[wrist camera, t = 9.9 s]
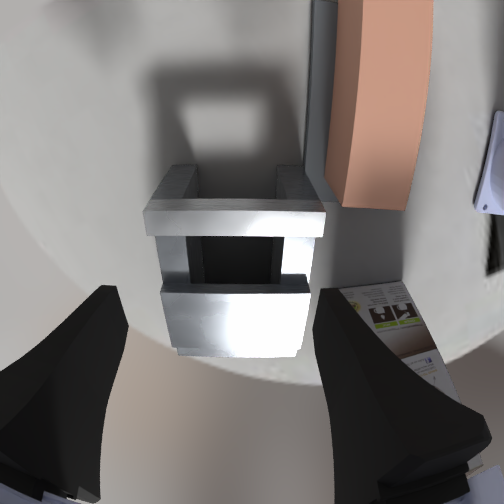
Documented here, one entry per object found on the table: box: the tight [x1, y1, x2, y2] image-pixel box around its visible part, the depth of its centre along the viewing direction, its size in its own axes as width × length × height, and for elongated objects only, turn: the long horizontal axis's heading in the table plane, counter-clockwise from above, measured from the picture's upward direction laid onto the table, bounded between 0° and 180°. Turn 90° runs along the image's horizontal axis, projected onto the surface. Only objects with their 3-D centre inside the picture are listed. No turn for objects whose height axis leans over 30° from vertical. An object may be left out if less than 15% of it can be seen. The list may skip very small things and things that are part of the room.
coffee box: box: [339, 282, 483, 477], centre depth 19 cm, size 9×6×16 cm
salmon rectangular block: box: [324, 0, 433, 211], centre depth 13 cm, size 4×11×4 cm, turn 178°
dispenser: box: [143, 165, 326, 357], centre depth 19 cm, size 8×11×6 cm
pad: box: [303, 0, 339, 202], centre depth 16 cm, size 6×12×1 cm, turn 179°
